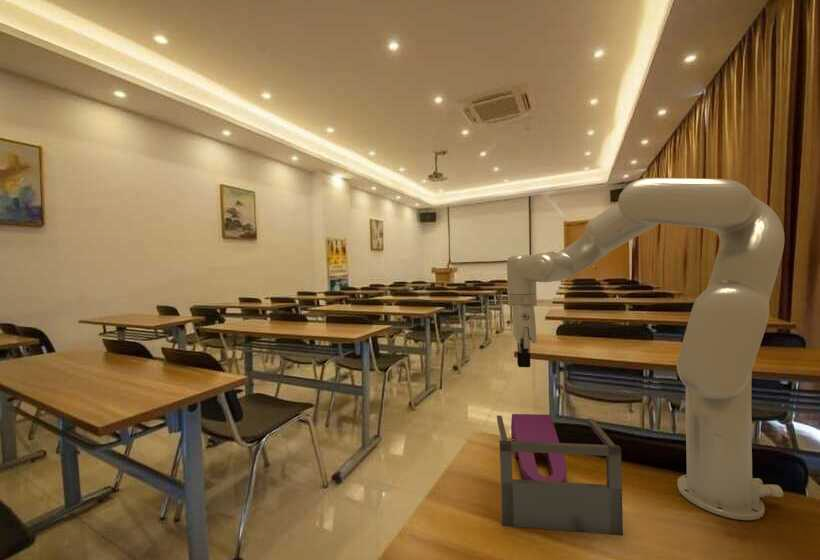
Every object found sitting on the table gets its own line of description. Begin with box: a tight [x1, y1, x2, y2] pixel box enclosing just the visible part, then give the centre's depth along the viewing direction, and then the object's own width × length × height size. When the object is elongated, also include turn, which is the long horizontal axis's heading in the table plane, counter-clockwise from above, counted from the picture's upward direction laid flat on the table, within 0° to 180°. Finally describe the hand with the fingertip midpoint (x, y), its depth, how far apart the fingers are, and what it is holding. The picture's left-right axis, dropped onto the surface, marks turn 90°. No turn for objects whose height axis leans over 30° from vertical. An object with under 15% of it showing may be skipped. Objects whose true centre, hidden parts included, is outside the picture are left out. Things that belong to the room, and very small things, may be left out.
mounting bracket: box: [510, 413, 568, 482], centre depth 81 cm, size 10×8×18 cm
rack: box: [496, 415, 624, 536], centre depth 66 cm, size 20×12×15 cm, turn 81°
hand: (523, 366), depth 96 cm, fingers closed
